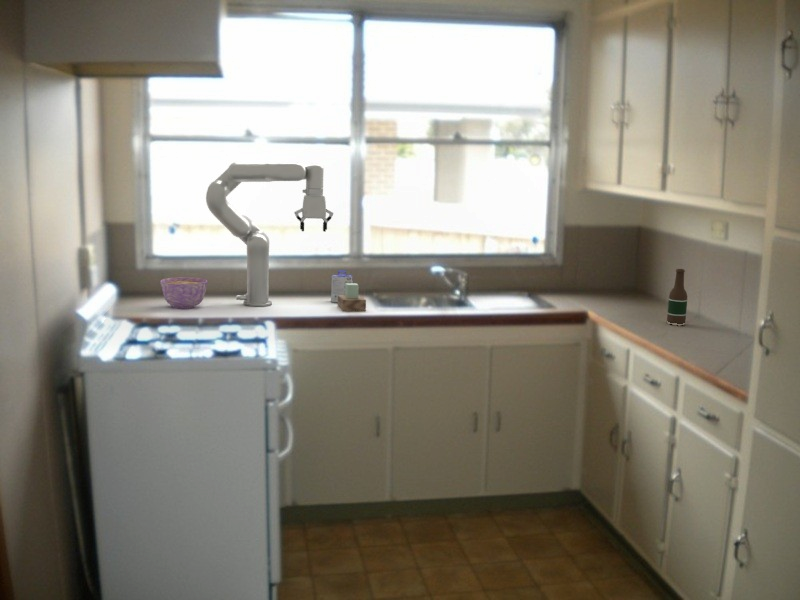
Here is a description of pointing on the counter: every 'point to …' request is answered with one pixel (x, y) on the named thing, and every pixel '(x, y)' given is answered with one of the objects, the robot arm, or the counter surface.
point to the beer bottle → (677, 300)
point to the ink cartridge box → (339, 284)
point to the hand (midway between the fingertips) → (313, 231)
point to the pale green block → (351, 290)
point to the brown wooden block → (351, 303)
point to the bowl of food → (183, 291)
